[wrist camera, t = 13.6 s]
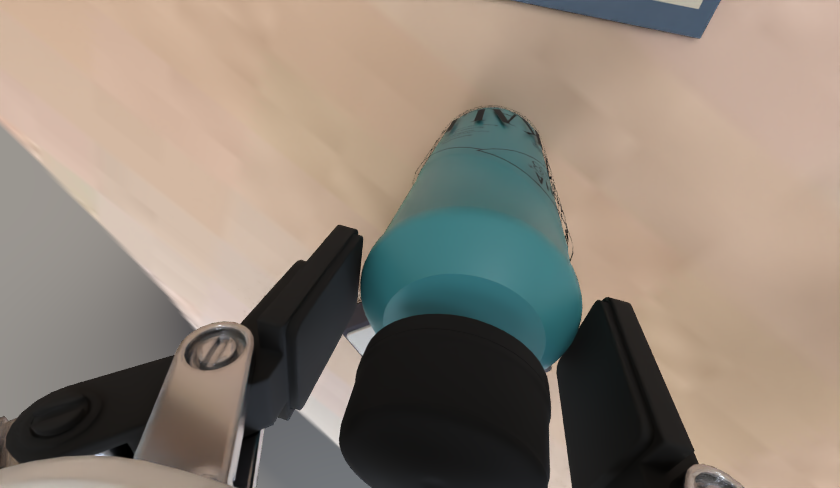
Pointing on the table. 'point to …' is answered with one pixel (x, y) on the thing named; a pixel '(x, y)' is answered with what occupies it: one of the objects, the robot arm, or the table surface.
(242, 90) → the table surface
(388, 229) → the beverage bottle
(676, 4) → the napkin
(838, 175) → the table surface
